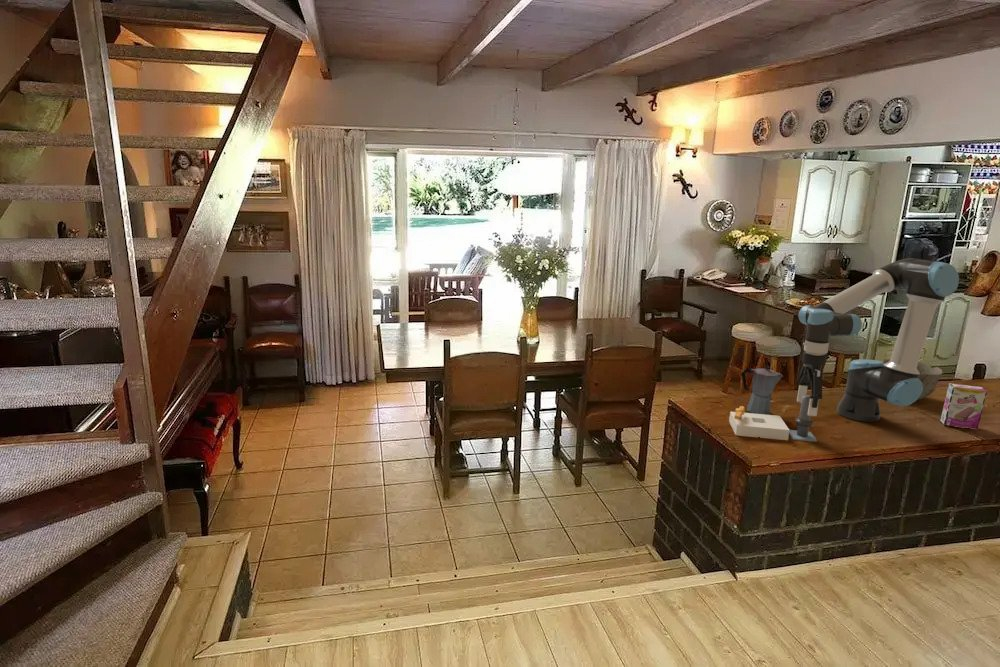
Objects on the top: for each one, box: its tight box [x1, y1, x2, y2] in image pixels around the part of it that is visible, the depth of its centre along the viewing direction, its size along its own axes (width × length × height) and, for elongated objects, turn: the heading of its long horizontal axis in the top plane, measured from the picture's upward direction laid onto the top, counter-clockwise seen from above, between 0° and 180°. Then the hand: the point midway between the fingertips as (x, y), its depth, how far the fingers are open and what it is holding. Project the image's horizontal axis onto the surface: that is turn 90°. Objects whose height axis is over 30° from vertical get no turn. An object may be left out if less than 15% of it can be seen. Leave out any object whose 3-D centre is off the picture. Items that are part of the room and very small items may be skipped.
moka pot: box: [741, 365, 784, 415], centre depth 238 cm, size 10×15×20 cm, turn 78°
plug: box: [794, 394, 814, 437], centre depth 216 cm, size 6×6×15 cm
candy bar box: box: [939, 382, 988, 430], centre depth 229 cm, size 11×5×16 cm, turn 71°
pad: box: [789, 429, 818, 443], centre depth 218 cm, size 8×8×1 cm
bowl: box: [882, 358, 944, 400], centre depth 260 cm, size 22×22×15 cm
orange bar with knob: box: [734, 405, 746, 420], centre depth 221 cm, size 12×3×1 cm, turn 149°
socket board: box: [728, 411, 791, 441], centre depth 222 cm, size 18×14×6 cm
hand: (806, 408), depth 215 cm, fingers open, 13 cm apart
